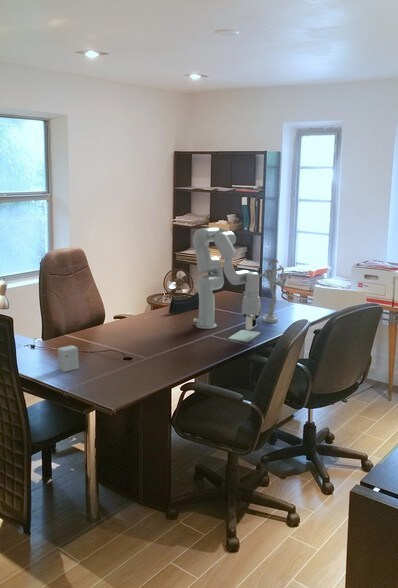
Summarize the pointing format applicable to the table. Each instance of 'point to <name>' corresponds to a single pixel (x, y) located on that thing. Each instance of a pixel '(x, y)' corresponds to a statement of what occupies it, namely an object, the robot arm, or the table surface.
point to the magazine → (184, 304)
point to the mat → (244, 335)
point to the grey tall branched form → (273, 282)
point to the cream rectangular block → (250, 322)
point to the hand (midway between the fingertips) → (251, 325)
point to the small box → (68, 358)
